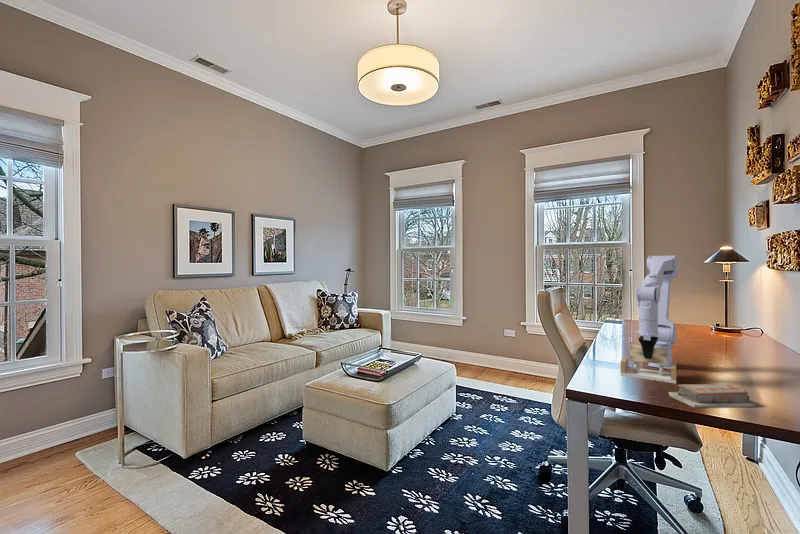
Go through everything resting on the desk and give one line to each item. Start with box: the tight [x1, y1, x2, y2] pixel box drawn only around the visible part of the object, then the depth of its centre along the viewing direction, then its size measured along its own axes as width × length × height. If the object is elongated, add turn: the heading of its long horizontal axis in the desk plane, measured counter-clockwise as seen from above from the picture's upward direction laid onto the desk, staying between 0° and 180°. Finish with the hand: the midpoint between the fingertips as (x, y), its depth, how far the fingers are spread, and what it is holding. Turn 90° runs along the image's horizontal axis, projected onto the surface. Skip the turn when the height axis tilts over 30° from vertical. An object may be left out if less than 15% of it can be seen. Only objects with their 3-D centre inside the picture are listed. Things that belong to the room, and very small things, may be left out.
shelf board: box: [629, 344, 667, 365], centre depth 137 cm, size 11×4×5 cm, turn 54°
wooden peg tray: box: [620, 355, 677, 384], centre depth 137 cm, size 11×16×5 cm
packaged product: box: [668, 383, 758, 408], centre depth 111 cm, size 18×5×10 cm
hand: (648, 357), depth 137 cm, fingers closed on shelf board, 3 cm apart
